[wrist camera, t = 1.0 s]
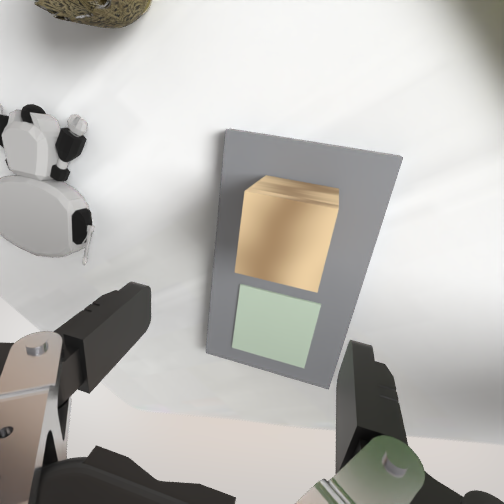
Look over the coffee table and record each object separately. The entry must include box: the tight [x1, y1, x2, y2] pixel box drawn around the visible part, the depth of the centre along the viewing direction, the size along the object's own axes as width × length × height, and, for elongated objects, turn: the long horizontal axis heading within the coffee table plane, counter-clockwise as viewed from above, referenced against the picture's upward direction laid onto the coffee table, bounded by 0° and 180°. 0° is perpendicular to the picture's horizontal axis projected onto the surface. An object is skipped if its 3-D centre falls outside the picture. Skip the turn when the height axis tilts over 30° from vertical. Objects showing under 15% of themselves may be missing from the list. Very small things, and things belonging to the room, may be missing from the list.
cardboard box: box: [235, 175, 339, 293], centre depth 24 cm, size 6×6×6 cm
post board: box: [206, 129, 403, 389], centre depth 28 cm, size 14×24×8 cm, turn 171°
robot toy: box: [0, 104, 94, 265], centre depth 32 cm, size 12×4×15 cm
